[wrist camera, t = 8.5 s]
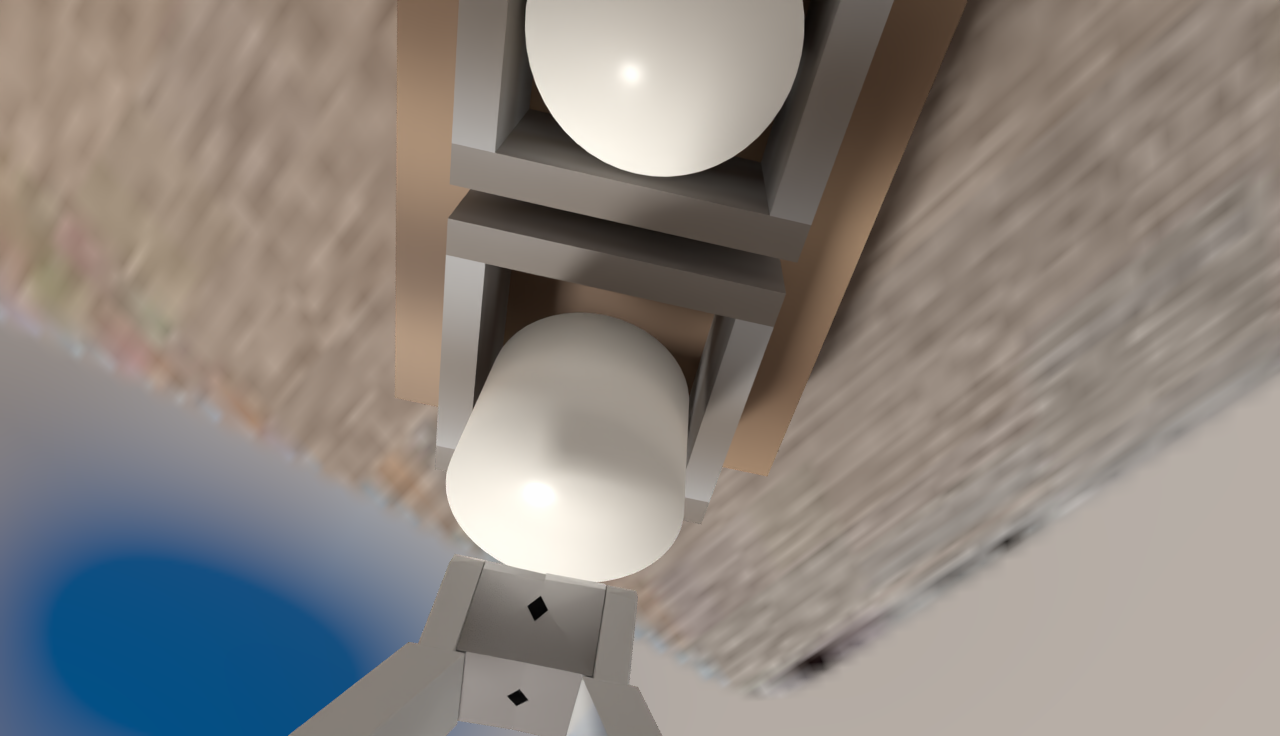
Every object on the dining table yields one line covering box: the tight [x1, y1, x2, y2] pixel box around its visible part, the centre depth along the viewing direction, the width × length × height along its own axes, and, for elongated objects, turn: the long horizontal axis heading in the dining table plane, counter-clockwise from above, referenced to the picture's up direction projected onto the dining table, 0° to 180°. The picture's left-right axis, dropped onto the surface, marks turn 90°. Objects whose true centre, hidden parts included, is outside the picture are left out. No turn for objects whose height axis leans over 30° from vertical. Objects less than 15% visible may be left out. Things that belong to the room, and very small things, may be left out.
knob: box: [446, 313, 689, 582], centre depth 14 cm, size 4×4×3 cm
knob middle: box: [525, 0, 804, 177], centre depth 13 cm, size 4×4×3 cm
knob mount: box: [395, 0, 968, 524], centre depth 14 cm, size 23×11×6 cm, turn 168°
